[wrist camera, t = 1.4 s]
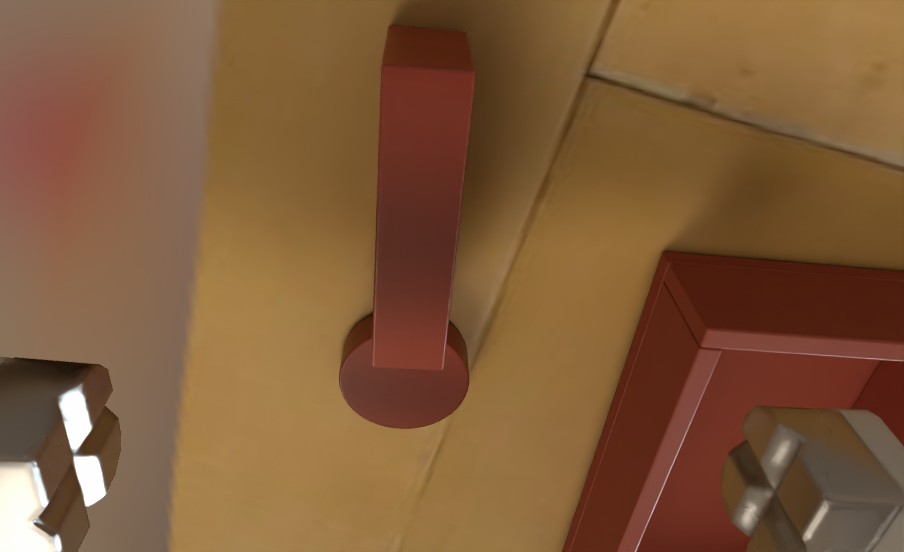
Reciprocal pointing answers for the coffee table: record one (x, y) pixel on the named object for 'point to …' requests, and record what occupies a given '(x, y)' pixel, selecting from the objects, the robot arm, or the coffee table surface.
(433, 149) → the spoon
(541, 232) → the coffee table surface
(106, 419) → the robot arm
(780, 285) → the red bin
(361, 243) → the coffee table surface
